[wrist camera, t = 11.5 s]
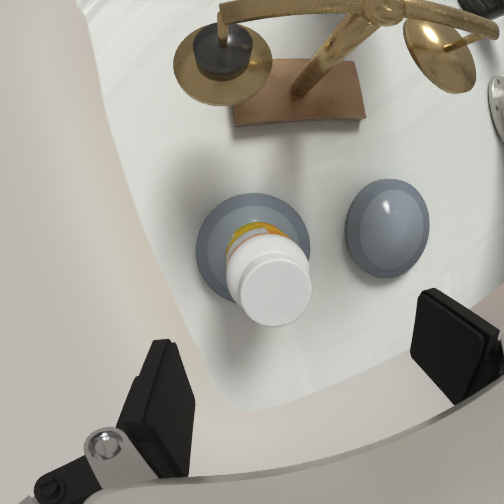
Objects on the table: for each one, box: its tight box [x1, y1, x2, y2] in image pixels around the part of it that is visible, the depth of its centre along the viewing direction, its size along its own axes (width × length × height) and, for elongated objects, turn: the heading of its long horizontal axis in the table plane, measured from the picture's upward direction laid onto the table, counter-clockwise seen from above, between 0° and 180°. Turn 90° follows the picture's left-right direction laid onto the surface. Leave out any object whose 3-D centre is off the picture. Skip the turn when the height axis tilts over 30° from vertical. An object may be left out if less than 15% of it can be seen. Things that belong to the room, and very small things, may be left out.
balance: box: [173, 0, 499, 127], centre depth 14 cm, size 20×6×18 cm, turn 98°
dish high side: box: [345, 179, 429, 278], centre depth 26 cm, size 10×10×1 cm
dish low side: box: [196, 193, 310, 303], centre depth 25 cm, size 10×10×1 cm
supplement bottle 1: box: [225, 221, 312, 327], centre depth 20 cm, size 5×5×10 cm
